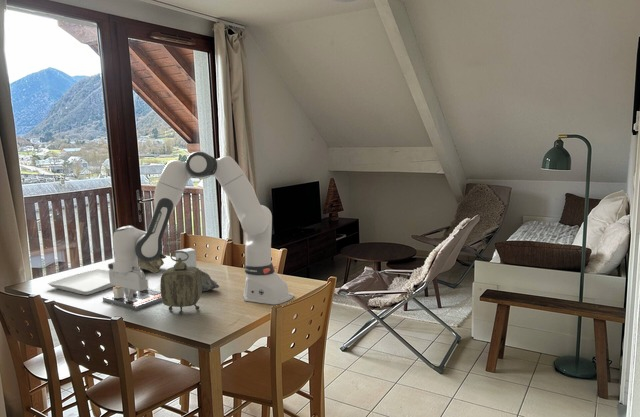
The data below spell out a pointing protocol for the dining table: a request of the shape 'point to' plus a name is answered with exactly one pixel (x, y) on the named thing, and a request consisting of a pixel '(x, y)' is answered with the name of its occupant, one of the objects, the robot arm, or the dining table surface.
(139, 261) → the hollow geode rock
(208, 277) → the mineral rock
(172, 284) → the tabletop clock
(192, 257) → the skincare box
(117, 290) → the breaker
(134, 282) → the robot arm
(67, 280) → the square plate
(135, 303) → the panel
